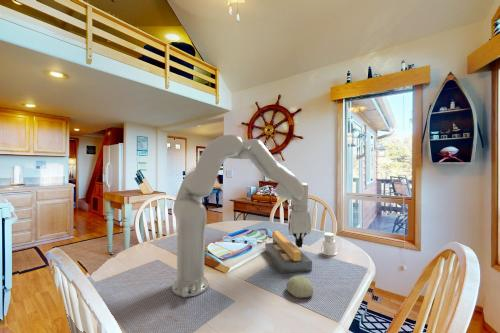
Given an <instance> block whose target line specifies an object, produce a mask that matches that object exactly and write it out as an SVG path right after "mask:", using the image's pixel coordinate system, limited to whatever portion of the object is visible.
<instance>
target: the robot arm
mask: <svg viewBox="0 0 500 333" xmlns="http://www.w3.org/2000/svg"><path fill="white" fill-rule="evenodd" d="M201 152H202V153H201V155H200V156H199V158H198V162H197V163H196V165H195V168H194V170H193V171H191V172H188V173H187V174H185V176H184V178H183V180H182V181H181V183H180V184H181V185H180V187H179V190H178V192H177V195H176V197H175V201H174V203H173V209H172V210H173V214H174V217H175V218H176V219H177V220H178V229H177V237H176V239H177V240H176V241H177V243H176V244H177V246H176V250H177V251H176V256H177V258H176V259H177V260H176V280H175V281H174V282H173V283H172V287H171V290H172V293H173V294H174V295H175V296H178V297H181V298H182V297H183V298H188V297H194V296H198V295H201V294H202V293H203V292H205V291H206V290H207V289H208V286H209V281H208V279H207V278H206V277H205V245H206V244H205V239H206V238H205V235H206V234H205V233H206V225H207V219H208V218H207V216H208V215H207V214H208V213H207V209H206V207H205V205H203V203H202V202H200V201H201V199H202V198H207V197H208V196H210V194H212V192H213V190H214V186H215V185H216V180H217V178H218V175H219V171H220V170H221V167H222V165H223V163H224V162H225V161H226V160H227V159H233V160H236V159H237V160H250V162H251V163H252V164H253V165H254V166H255V167H256V168H257V170H258V171H259V172H260V174H262V176H263V177H265V178H267V179H269V180H271V181H274V182H275V183H277V185H276V187H275V193H276V195H277V197H279V198H281V199H286V200H291V205H289V206H288V208H289V210H290V212H289V217H288V226H287V227H288V235H290V236H293V237H294V238H295V244H294V245H295V246H296V247H297V248H298V249H300V248H302V247H303V244H304V242H303V240H304V239H305V237H306V236H307V235H310V234H311V232H312V220H311V214H310V212H311V211H308V210H309V184H308V183H307V182H301V181H300V180H299V179H298V177H297V176H296V175H295V174H293V172H291V171H290V170H288V169H287V168H286V167H285V166H283V165H282V164H280V163H279V162H278V161H277V160H276V159H275V157H274V156H273V154H272V153H271V152H270V151H269V149H268V148H267V147H266V146H265V144H264V143H263V142H262V141H261V140H260V139H258V138H250V139H245V140H243V139H242V138H241V137H240V136H238V135H236V134H225V135H221V136H219V137H217V138H215V139H213V140H212V141H211V142H210V143H208V144H207V146H205V147H204V149H203V150H202V151H201Z"/></svg>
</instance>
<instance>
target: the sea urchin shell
mask: <svg viewBox="0 0 500 333" xmlns="http://www.w3.org/2000/svg"><path fill="white" fill-rule="evenodd" d="M285 287H286V290H287V291H288V293H290V295H292V296H293V297H296V298H298V299H300V298H301V299H303V298H309V297H311V296H312V295H314V285H313V283H312V282H311V280H310V279H308V278H306V277H303V276H297V275H296V276H295V275H294V276H292V277H291V278H289V279H288V281H287V282H286V284H285Z"/></svg>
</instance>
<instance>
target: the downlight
mask: <svg viewBox="0 0 500 333" xmlns="http://www.w3.org/2000/svg"><path fill="white" fill-rule="evenodd" d="M322 240H323V241H322V244H321V248H320V249H321V253H322V254H324V255H327V256H336V255H338V252H337V251H338V248H339V247H338V245H336V240H335V235H334V233H332V232H324V236H323V239H322Z"/></svg>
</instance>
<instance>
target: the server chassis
mask: <svg viewBox="0 0 500 333" xmlns="http://www.w3.org/2000/svg"><path fill="white" fill-rule="evenodd" d="M289 242H290V243H291V244H293V243H292V242H291V241H289ZM293 245H294V246H295V247H296V248H297V249H298V250H299V251H300V252H301V260H299V261H294V260H293V259H292V258H291V257H290V256H289V255H288V254H287V253H286V252H285V251H284V250H283V249H282V247H281V246H280V245H279V244H278V243H277V242H276V241H275V240H274V239H273V238H272V242H267V243H266V242H265V244H264V248H265V247H266V252H265V253H266V254H267V256H268V257H269V259H270V260H271V261H272V263H273V264H274V266H275V267H276V269H277V270H278V272H279V273H280V274H285V273H286V274H289V273H298V272H299V273H300V272H309V271H310V272H311V271H313V260H311V259H310V258H309V257H308V256H307V255H306V254H305V253H304V252H302V251H301V250H300V248H298V247H297V246H296V244H293Z"/></svg>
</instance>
